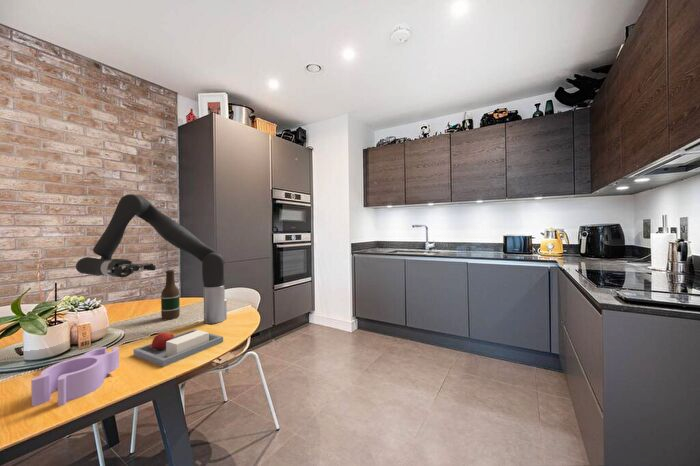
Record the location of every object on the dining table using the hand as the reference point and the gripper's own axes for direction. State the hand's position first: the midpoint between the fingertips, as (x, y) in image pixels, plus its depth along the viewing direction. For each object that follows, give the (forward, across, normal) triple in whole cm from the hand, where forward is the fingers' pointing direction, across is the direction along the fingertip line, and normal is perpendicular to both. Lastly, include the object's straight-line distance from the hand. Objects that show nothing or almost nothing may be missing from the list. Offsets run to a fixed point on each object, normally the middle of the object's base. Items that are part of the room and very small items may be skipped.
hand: (143, 269), depth 110 cm
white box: (+25, -2, +28) cm, 38 cm away
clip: (+14, -27, +29) cm, 42 cm away
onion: (+17, -1, +24) cm, 29 cm away
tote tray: (+21, -1, +29) cm, 36 cm away
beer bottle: (-20, +25, +29) cm, 43 cm away
